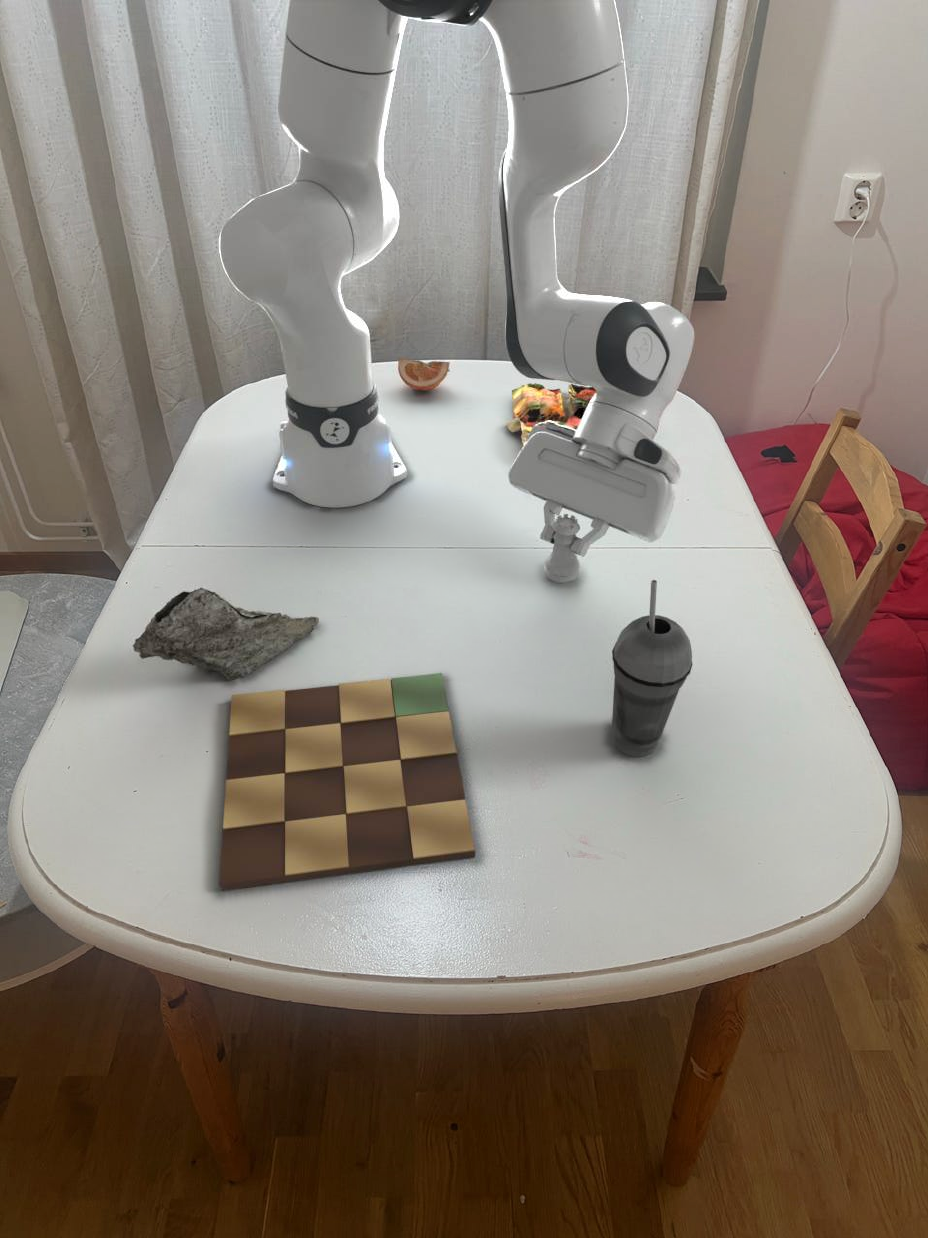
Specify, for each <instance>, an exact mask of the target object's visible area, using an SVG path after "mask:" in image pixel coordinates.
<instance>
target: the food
mask: <svg viewBox="0 0 928 1238" xmlns="http://www.w3.org/2000/svg"><path fill="white" fill-rule="evenodd" d="M567 387H568V389H567V392H568V396H565V393H563V392H562V390H561V388H556V389H551V388H550V389H548V388H546V387H545V386H544V385H543V384H541V383H536V382H535V383H526V384H525V385H524V384H522V385H520V386H519V387H517V388H514V389H512V390H511V401H512V412H513V413H512V418H513V419H512V420H510V421H509V422H507V423H506V424H505V425H504V428H507V429H508V430H509V432H511V433H515V432H520V431H521V441H522V445H523V446H524V445H525V444H526V439H527V437H528V435H529V433H530V431H531V429H532V428H533V426H535V425H537V424H539V423H543V422H546V421H553V422H555V423H557V424H559V425H562V426H567V427H570V428H573V429H576V430H577V428H578V425H579V423H580V421H581V419H582V418H579V417H578V416H576V415H575V413H576V412H577V411H578V410H579V409H583V410H586V408H587V406H588V404H589V402H590V400H591V399H592V398H593V396H594V395H595V394H596V390H595V389H594V388H593V387H592V386H589V387H588V386H585V385H579V384H574V383H569V384H568V385H567ZM540 427H543V428H545V427H544V426H540ZM554 432H555V431H554ZM557 433H558V432H557Z"/></svg>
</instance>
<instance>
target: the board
mask: <svg viewBox="0 0 928 1238" xmlns="http://www.w3.org/2000/svg"><path fill="white" fill-rule="evenodd" d="M229 717H230V718H229V730H228V732H229V733H228V746H227V747H228V748H227V764H226V779H225V790H224V791H225V792H224V805H223V818H222V819H223V821H222V836H221V838H222V839H221V850H220V851H221V852H220V865H219V866H220V867H219V879H218V881H219V882H218V885H219V888H220V891H229V890H237V889H245V888H251V887H260V886H267V885H273V884H275V885H276V884H283V883H290V882H297V881H306V880H313V879H321V878H326V877H327V878H328V877H336V876H342V875H350V874H351V875H352V874H359V873H365V872H367V873H368V872H373V871H382V870H390V869H396V868H405V867H411V866H412V867H413V866H419V865H420V866H421V865H428V864H435V863H442V862H450V861H457V860H465V859H472V858H475V857H476V847H475V841H474V838H473V837H474V836H473V831H472V826H471V820H470V815H469V811H468V805H467V799H466V794H465V789H464V783H463V779H462V774H461V768H460V762H459V757H458V751H457V746H456V741H455V735H454V730H453V725H452V720H451V719H452V718H451V713H450V708H449V704H448V698H447V694H446V688H445V682H444V678H443V673H442V672H438V673H428V674H419V675H409V676H401V677H400V676H399V677H392V678H391V677H390V678H380V679H372V680H363V681H352V682H341V683H338V684H336V685H325V686H318V687H310V688H308V687H307V688H299V689H298V688H297V689H289V690H288V689H287V690H285V689H277V690H268V691H266V690H265V691H258V692H256V691H255V692H248V693H239V694H232V695H231V702H230V716H229Z"/></svg>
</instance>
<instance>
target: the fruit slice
mask: <svg viewBox="0 0 928 1238" xmlns="http://www.w3.org/2000/svg"><path fill="white" fill-rule="evenodd" d="M397 363H398V364H397V369H398V370H397V371H398V374H399V377H400V378H401V380H402V381H403V383H404V384H405V385H407V386H408V387H410V388H412V389H414V390H417V391H430V390H433V389H435V388H437V387H438V386H439V385H440V384H441V383H442V382H443V381H444V380H445V379H446V378H447V375H448V373H449V372H450V364H451V363H450V361H442V360H441V361H436V360H435V361H429V362H424V361H421V360H419V359H418V360H417V359H416V360H415V359H407V358H406V359H405V358H399V359H398V362H397Z"/></svg>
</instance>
